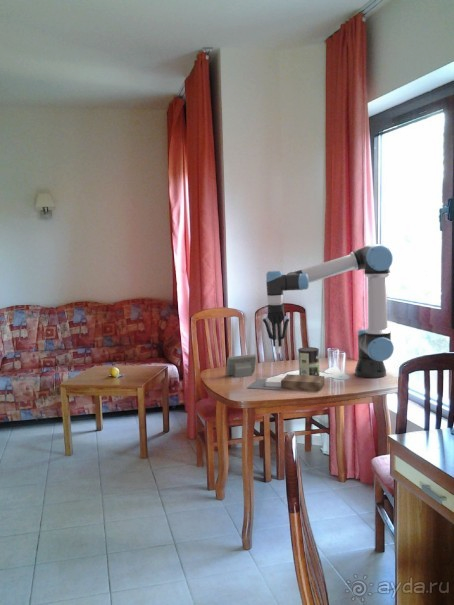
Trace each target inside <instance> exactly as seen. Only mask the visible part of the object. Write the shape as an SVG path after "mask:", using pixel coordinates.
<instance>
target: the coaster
mask: <svg viewBox="0 0 454 605" xmlns="http://www.w3.org/2000/svg"><path fill="white" fill-rule="evenodd" d="M283 378H284V377H268V378H267V381H266V386H273V387H281V380H282V379H283Z"/></svg>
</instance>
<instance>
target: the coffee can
mask: <svg viewBox="0 0 454 605" xmlns="http://www.w3.org/2000/svg"><path fill="white" fill-rule="evenodd" d="M297 351H298V372H299V373H298V375H312V376H320V356H319V355H320V354H319V353H320V348H318V347H311V346H310V347H309V346H308V347H307V346H306V347H299V348H298V350H297Z"/></svg>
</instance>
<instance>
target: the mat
mask: <svg viewBox="0 0 454 605" xmlns="http://www.w3.org/2000/svg"><path fill="white" fill-rule="evenodd" d="M267 379H268V378H267ZM267 379H266V378H265V379H264V378H263V379H262V378H257V379H255V380H254V381H252V383H251V384H249V385H248V386H247V388H246V389H254V390H256V389H257V390H267V389H268V390H269V391H270V390H271V391H272V390H273V391H281V390H282V389H281V387H273V386H266V381H267Z"/></svg>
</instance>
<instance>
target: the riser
mask: <svg viewBox="0 0 454 605" xmlns="http://www.w3.org/2000/svg"><path fill="white" fill-rule="evenodd" d="M282 378H283V379H282V380H281V390H289V391H290V390H293V391H294V390H295V391H308V392H309V391H311V392H321V390H322V389H323V388H324V386H325V375H319V376H312V375H299V374H292V373H291V374H289V373H288V374H286V375H285V376H284V377H282Z"/></svg>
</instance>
